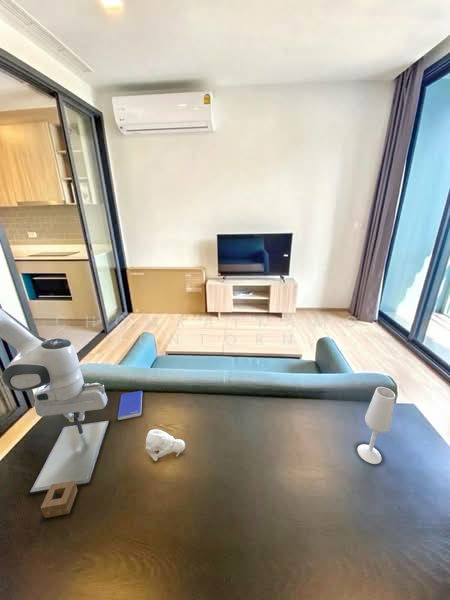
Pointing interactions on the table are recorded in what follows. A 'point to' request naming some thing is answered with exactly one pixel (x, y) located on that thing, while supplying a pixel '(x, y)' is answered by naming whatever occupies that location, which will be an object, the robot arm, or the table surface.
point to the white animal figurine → (162, 444)
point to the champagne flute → (378, 422)
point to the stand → (59, 499)
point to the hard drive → (130, 405)
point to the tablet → (72, 456)
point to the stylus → (78, 423)
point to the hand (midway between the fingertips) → (77, 420)
